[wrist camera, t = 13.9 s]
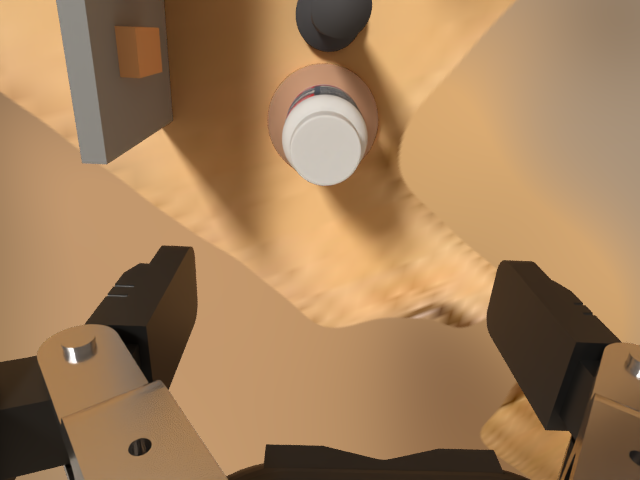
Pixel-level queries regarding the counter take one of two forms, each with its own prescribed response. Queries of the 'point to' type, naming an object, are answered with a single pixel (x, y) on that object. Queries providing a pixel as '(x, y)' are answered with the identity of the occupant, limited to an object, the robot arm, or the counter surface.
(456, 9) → the counter surface
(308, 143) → the pill bottle
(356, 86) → the coaster
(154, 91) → the panel
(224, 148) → the counter surface
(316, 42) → the post
